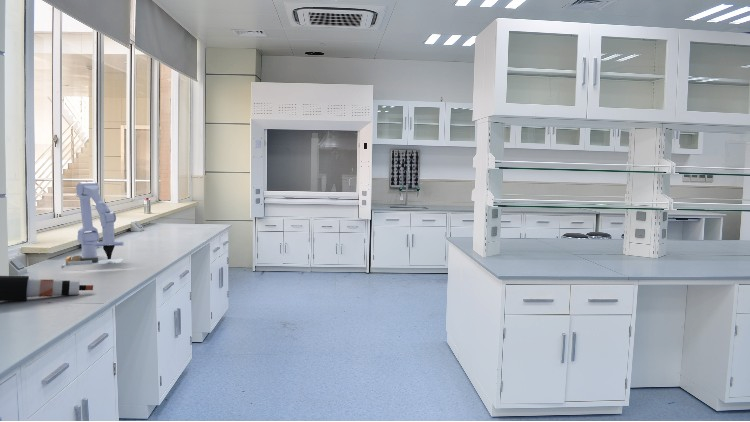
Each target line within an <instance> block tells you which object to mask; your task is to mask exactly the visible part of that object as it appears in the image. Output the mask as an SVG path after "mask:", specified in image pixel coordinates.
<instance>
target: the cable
mask: <svg viewBox="0 0 750 422" xmlns="http://www.w3.org/2000/svg"><path fill="white" fill-rule="evenodd" d="M80 282H81V281H80V280H63V279H37V278H36V279H34V278H30V275H0V302H19V301H20V302H23V301H24V302H26V301H27V300H28V298H35V297H36V298H37V297H38V298H42V297H56V296H57V297H60V296H79V295H80V294H79V293H80V291H94V285H93V284H91V285H89V284H88V285H87V284H80Z"/></svg>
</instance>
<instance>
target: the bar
mask: <svg viewBox="0 0 750 422" xmlns="http://www.w3.org/2000/svg"><path fill="white" fill-rule="evenodd" d="M98 260H99V257H98V256H97V257H92V258H81V261H92V263H95V262H98Z"/></svg>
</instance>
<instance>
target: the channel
mask: <svg viewBox="0 0 750 422" xmlns="http://www.w3.org/2000/svg"><path fill="white" fill-rule="evenodd" d="M122 262H123V258H115V259H112V258H111V259H98V262H95V263H92V261H73V262H72V256H71V255H70V256H67V257H66V258H65V262H64V263H63V264H62V265H61V268H64V267H66V266H81V265H83V266H85V265H103V264H104V265H105V264H120V263H122Z"/></svg>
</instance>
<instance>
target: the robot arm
mask: <svg viewBox="0 0 750 422" xmlns="http://www.w3.org/2000/svg"><path fill="white" fill-rule="evenodd" d="M75 187H76V196H77V197H78V198H79V207H80V212H81V213H80V215H81V221H82V222H81V223H82V227H81V228H79V229H78V230H77V241H78V243H79V244H80V245H81V256H82V258H92V257H98V253H97V252H98V251H97V248H98V247H102V250H103V251H104V253H105V255H106V256H107V257H106V258H107V260H112V255H113V252H114V249H115V247H117V246H118V247H119V246H121V247H123V246H124V245H125V244H124V241H115V222H116V221H117V216H116V213H115V212H114V211H113V210H111V209H110V207H109V205H108V204H107V203H106V202H105V201H103V199H102V197H101V194H100V193H99V191H100V186H99V183H98V182H97V181H89V182H88V181H85V182H80V181H79V182H78V183H77V184H76V186H75ZM91 199H92V201H93V202H94V204H95V209H96V211H97V213H98V215H99V222H100V226H101V232H102V241H101V242H100V241H99V240H100V234H99V231H98V228H97V227H95V226H94V224H93V223H94V222H93V215H92V207H91Z"/></svg>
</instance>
